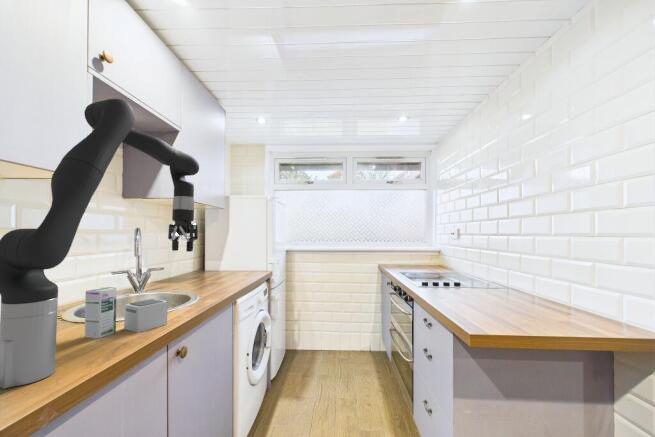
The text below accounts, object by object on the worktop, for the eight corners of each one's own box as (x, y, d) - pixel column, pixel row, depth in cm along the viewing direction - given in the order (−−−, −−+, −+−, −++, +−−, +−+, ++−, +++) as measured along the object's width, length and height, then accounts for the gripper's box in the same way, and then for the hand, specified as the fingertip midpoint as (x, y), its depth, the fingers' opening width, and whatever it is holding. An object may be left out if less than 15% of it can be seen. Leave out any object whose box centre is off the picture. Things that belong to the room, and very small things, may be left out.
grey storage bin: (137, 332, 98) (137, 306, 98) (123, 328, 102) (124, 303, 102) (167, 324, 107) (168, 300, 107) (154, 320, 111) (154, 297, 111)
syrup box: (99, 338, 92) (101, 290, 93) (83, 337, 93) (85, 289, 94) (116, 332, 98) (117, 287, 98) (100, 331, 99) (102, 286, 100)
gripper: (162, 208, 118) (161, 250, 117) (186, 207, 111) (185, 252, 110) (180, 210, 124) (179, 250, 123) (204, 208, 117) (203, 251, 117)
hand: (182, 251), depth 117 cm, fingers open, 8 cm apart
